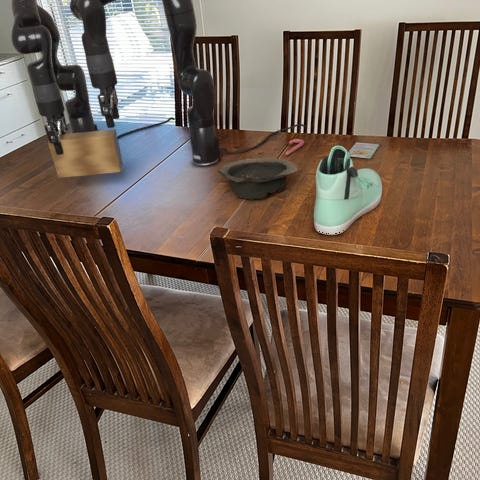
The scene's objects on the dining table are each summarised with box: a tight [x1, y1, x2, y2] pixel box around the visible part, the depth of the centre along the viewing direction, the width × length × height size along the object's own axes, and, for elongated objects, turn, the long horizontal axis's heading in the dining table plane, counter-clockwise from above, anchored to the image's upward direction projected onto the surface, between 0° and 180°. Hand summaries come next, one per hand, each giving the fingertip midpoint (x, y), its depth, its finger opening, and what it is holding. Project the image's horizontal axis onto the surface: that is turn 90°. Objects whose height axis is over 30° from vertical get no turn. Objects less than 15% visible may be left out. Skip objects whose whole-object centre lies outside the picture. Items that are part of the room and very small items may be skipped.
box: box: [47, 128, 124, 179], centre depth 155 cm, size 20×6×12 cm, turn 94°
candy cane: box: [284, 138, 305, 156], centre depth 182 cm, size 6×15×2 cm, turn 145°
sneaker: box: [313, 145, 383, 236], centre depth 133 cm, size 14×35×20 cm, turn 152°
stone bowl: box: [217, 157, 299, 201], centre depth 152 cm, size 25×25×9 cm
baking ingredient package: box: [347, 141, 380, 159], centre depth 175 cm, size 9×1×15 cm
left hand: (62, 149), depth 154 cm, fingers closed on box, 6 cm apart
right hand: (113, 123), depth 149 cm, fingers open, 8 cm apart
